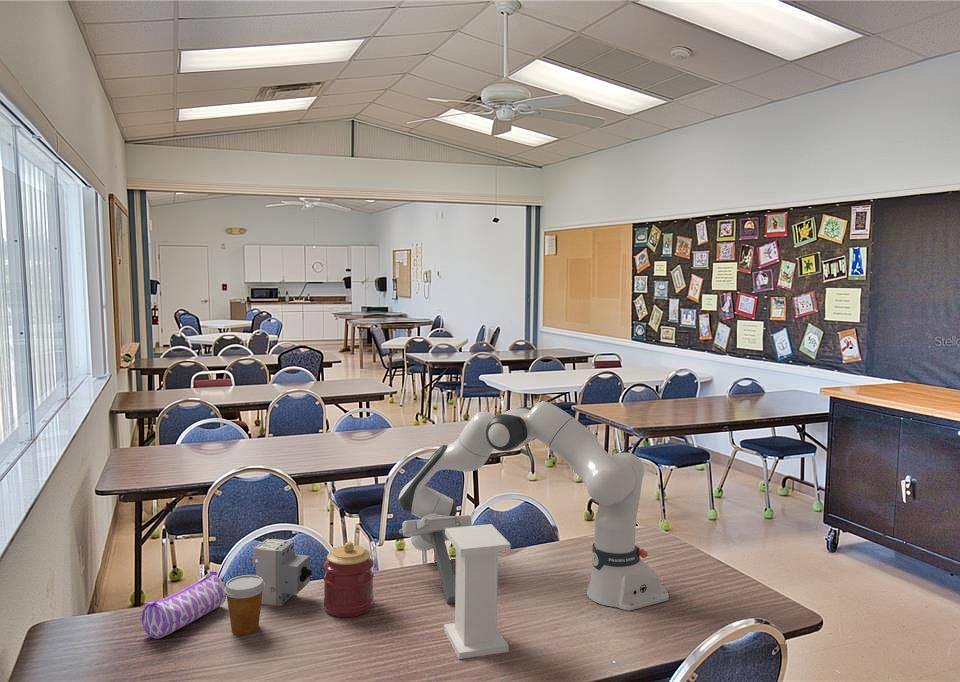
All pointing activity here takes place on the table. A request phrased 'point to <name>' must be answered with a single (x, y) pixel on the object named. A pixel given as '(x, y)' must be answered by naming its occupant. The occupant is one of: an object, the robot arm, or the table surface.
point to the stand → (476, 591)
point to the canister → (348, 581)
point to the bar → (444, 566)
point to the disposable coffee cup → (244, 603)
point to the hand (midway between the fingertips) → (442, 520)
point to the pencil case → (183, 606)
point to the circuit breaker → (280, 570)
